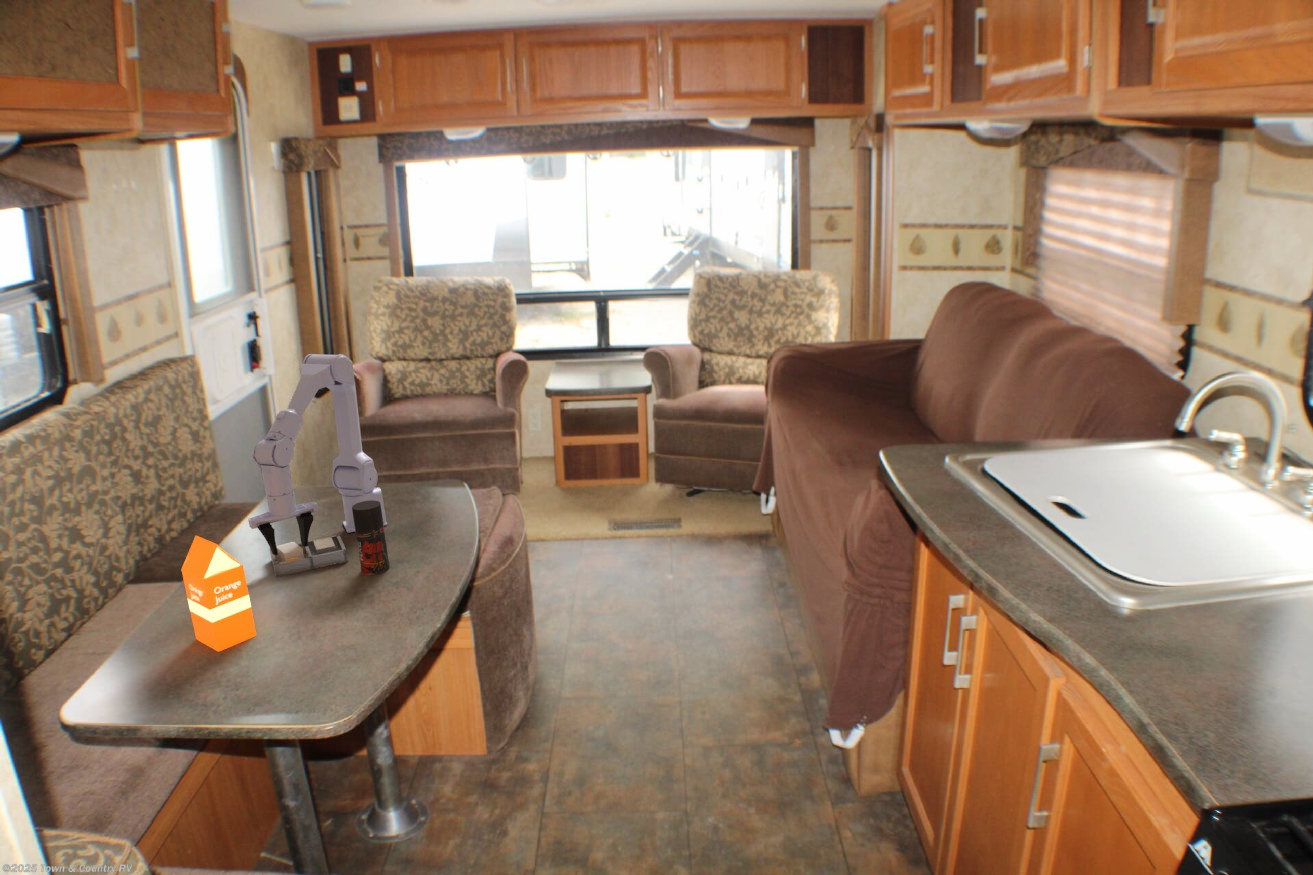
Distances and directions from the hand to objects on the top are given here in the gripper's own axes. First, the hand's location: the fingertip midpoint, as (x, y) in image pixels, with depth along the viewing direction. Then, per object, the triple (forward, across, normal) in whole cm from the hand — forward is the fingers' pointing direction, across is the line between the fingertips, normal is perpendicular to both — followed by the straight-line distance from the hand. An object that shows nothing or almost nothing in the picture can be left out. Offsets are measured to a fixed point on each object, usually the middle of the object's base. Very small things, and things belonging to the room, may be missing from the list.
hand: (290, 549), depth 212 cm
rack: (+4, -4, +1) cm, 5 cm away
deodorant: (+4, -13, +17) cm, 21 cm away
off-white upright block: (+3, 0, 0) cm, 3 cm away
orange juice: (+4, +21, +27) cm, 34 cm away
